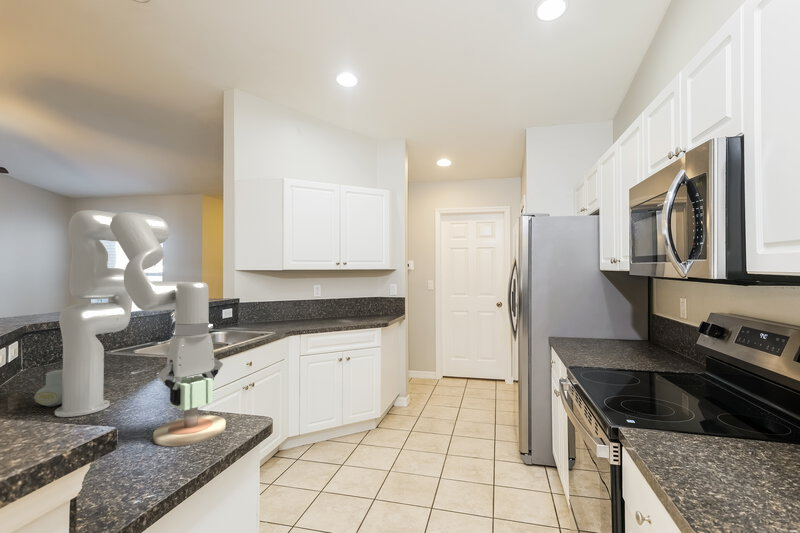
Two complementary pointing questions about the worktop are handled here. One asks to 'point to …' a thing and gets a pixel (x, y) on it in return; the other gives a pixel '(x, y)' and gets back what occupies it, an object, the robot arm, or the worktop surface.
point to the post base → (189, 429)
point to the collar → (195, 392)
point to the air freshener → (51, 389)
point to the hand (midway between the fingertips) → (191, 400)
